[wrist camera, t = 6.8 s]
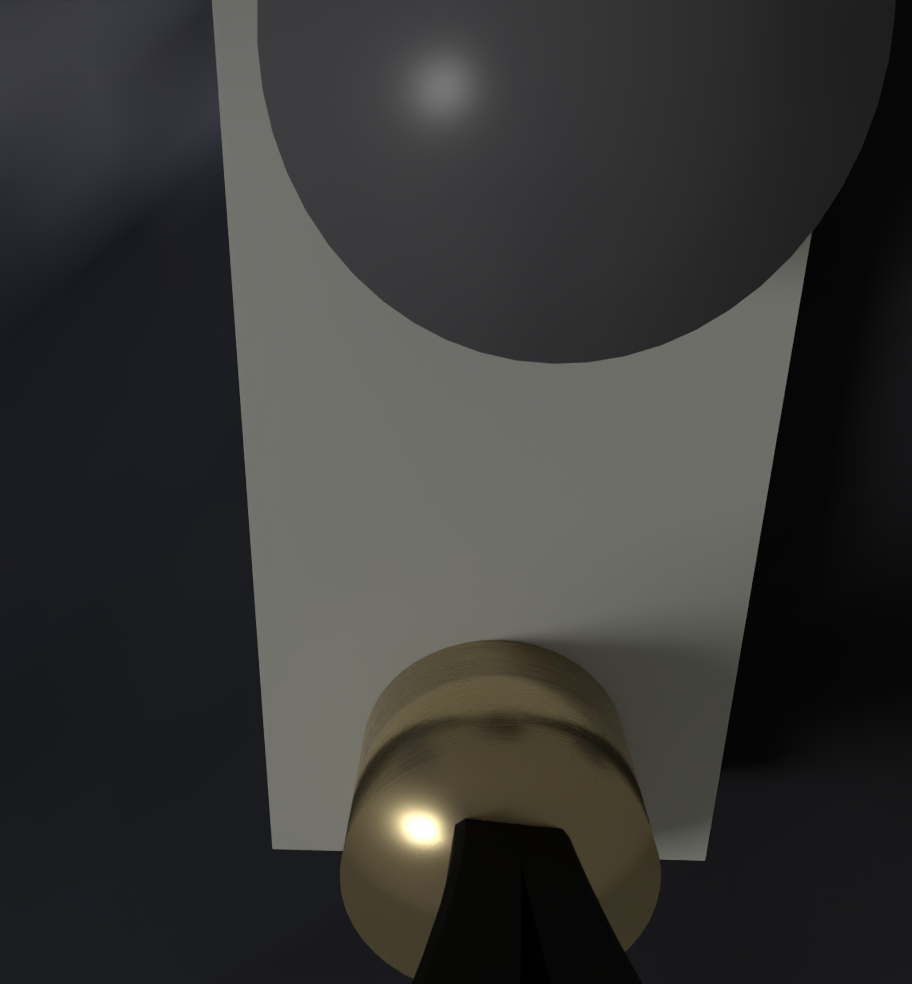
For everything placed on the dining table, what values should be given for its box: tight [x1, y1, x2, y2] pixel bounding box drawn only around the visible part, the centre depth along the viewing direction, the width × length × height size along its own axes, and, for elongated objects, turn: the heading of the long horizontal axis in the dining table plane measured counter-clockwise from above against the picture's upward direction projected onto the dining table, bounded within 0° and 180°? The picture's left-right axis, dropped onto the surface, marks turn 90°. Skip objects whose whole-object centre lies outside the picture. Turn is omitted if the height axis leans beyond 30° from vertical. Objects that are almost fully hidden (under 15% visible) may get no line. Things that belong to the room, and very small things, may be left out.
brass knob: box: [340, 640, 661, 979], centre depth 12 cm, size 4×4×4 cm
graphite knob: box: [257, 0, 895, 364], centre depth 7 cm, size 4×4×4 cm
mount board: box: [212, 0, 812, 861], centre depth 10 cm, size 22×7×2 cm, turn 179°
